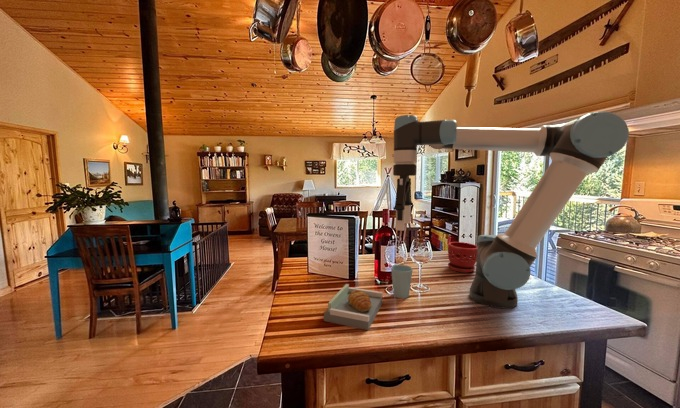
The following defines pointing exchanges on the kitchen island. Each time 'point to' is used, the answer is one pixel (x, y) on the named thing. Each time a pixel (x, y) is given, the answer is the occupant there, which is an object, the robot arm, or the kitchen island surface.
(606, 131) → the robot arm
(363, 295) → the pastry
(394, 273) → the cup
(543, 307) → the kitchen island surface
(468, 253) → the plant pot
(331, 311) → the dock
